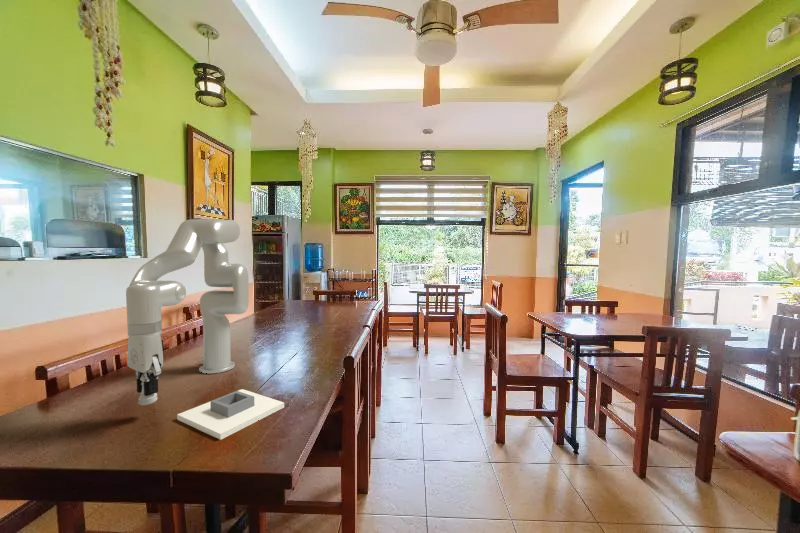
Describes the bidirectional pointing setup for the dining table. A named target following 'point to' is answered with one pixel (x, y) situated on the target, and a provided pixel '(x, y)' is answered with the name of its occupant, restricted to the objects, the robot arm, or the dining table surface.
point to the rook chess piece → (146, 399)
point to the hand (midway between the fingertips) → (147, 391)
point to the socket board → (230, 413)
